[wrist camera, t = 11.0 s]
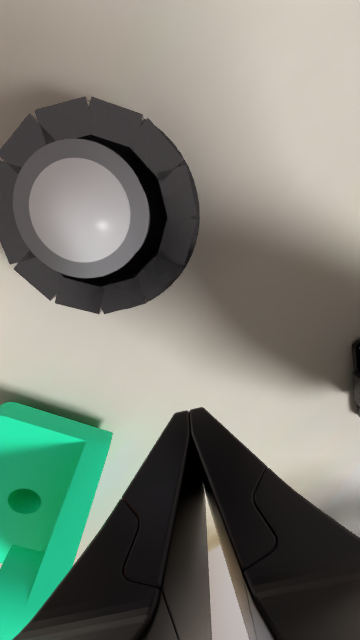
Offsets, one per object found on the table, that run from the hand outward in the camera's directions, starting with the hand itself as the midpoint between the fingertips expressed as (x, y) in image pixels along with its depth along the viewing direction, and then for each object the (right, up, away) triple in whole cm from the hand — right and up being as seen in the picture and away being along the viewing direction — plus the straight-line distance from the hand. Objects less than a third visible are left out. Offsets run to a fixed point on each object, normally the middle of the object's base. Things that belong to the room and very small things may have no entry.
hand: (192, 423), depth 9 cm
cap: (-5, +9, +9) cm, 13 cm away
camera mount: (-11, -8, +14) cm, 20 cm away
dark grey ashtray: (-5, +9, +9) cm, 14 cm away
